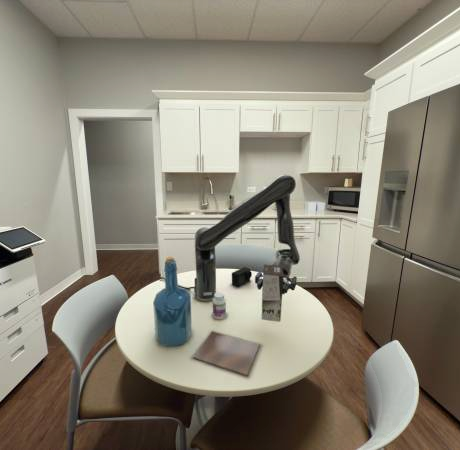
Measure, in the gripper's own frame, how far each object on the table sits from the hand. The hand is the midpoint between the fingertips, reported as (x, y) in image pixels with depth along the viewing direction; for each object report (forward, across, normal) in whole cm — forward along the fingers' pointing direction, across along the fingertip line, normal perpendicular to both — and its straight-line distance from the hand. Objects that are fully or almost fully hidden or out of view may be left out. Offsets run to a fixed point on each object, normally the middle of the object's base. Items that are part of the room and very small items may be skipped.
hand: (271, 289), depth 81 cm
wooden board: (+9, -12, +21) cm, 25 cm away
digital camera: (-41, -24, +21) cm, 52 cm away
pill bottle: (-9, -23, +21) cm, 32 cm away
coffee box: (-2, 0, +10) cm, 10 cm away
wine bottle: (+9, -33, +21) cm, 40 cm away
